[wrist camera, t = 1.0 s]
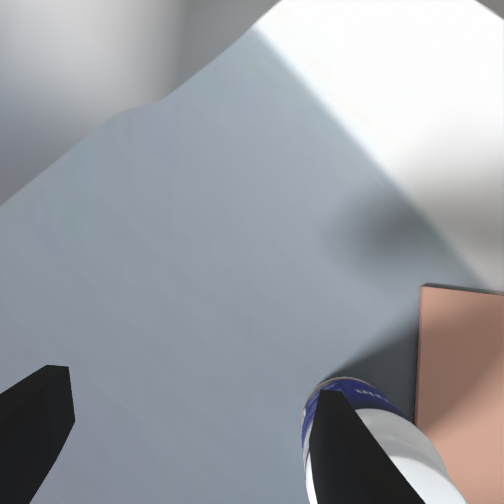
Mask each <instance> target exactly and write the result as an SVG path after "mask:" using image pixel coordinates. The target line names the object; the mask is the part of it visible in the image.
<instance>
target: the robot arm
mask: <svg viewBox="0 0 504 504" xmlns="http://www.w3.org/2000/svg"><path fill="white" fill-rule="evenodd" d="M74 423H75V415H74V407H73V399H72V391H71V383H70V375H69V367H66V366H55V365H46V366H44V367H42V368H41V369H39V370H37V371H36V372H34V373H32V374H31V375H29V376H28V377H26V378H25V379H23V380H21V381H20V382H18V383H17V384H15V385H14V386H12V387H11V388H9V389H7V390H6V391H4V392H3V393H1V394H0V504H29V503H30V501H31V500H32V498H33V497H34V495H35V494H36V492H37V490H38V489H39V487H40V485H41V484H42V482H43V481H44V479H45V477H46V476H47V474H48V473H49V471H50V469H51V468H52V466H53V464H54V463H55V461H56V459H57V457H58V455H59V453H60V452H61V450H62V448H63V446H64V444H65V442H66V440H67V437H68V435H69V433H70V431H71V429H72V427H73V425H74ZM309 450H310V461H311V470H312V479H313V485H314V490H315V495H316V500H317V504H426V503H425V502H424V500H423V499H422V498H421V497H420V496H419V494H418V493H417V492H416V491H415V490H414V488H413V487H412V486H411V485H410V483H409V482H408V481H407V480H406V478H405V477H404V476H403V474H402V473H401V472H400V471H399V469H398V468H397V467H396V465H395V464H394V463H393V461H392V460H391V459H390V458H389V456H388V455H387V454H386V452H385V451H384V450H383V448H382V447H381V446H380V444H379V443H378V442H377V440H376V439H375V438H374V436H373V435H372V433H371V432H370V431H369V429H368V428H367V426H366V425H365V424H364V422H363V421H362V419H361V418H360V417H359V415H358V414H357V412H356V411H355V409H354V408H353V407H352V405H351V404H350V402H349V401H348V399H347V398H346V397H345V395H344V394H343V393H342V391H335V390H324V389H320V393H319V397H318V402H317V406H316V410H315V415H314V419H313V424H312V428H311V432H310V437H309Z"/></svg>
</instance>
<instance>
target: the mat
mask: <svg viewBox="0 0 504 504" xmlns="http://www.w3.org/2000/svg"><path fill="white" fill-rule="evenodd" d="M414 424H415V425H416V426H417V427H418V428H419V429H420V430H421V431H422V432H423V433H424V434H425V435H426V437H427V438H428V439H429V440H430V441H431V443H432V444H433V445H434V447H435V448H436V449H437V451H438V453H439V454H440V456H441V458H442V460H443V462H444V464H445V466H446V469H447V471H448V474H449V477H450V479H451V481H452V482H453V483H454V484H455V485H456V487H457V488H458V489H459V490H460V492H461V493H462V494H463V496H464V498H465V499H466V501H467V502H468V504H504V296H501V295H493V294H484V293H476V292H467V291H459V290H450V289H441V288H433V287H424V286H423V287H421V296H420V317H419V338H418V359H417V379H416V400H415V421H414Z"/></svg>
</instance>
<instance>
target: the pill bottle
mask: <svg viewBox="0 0 504 504" xmlns="http://www.w3.org/2000/svg"><path fill="white" fill-rule="evenodd" d="M320 389H324V390H335V391H342V393H343V394H344V395H345V397H346V398H347V399H348V401H349V402H350V404H351V405H352V407H353V408H354V409H355V411H356V412H357V414H358V415H359V417H360V418H361V419H362V421H363V422H364V424H365V425H366V426H367V428H368V429H369V431H370V432H371V433H372V435H373V436H374V438H375V439H376V440H377V442H378V443H379V444H380V446H381V447H382V448H383V450H384V451H385V452H386V454H387V455H388V456H389V458H390V459H391V460H392V461H393V463H394V464H395V465H396V467H397V468H398V469H399V471H400V472H401V473H402V474H403V476H404V477H405V478H406V480H407V481H408V482H409V483H410V485H411V486H412V487H413V488H414V490H415V491H416V492H417V493H418V494H419V496H420V497H421V498H422V499H423V500H424V502H425V503H426V504H468V502H467V501H466V499H465V498H464V496H463V494H462V493H461V492H460V490H459V489H458V488H457V487H456V485H455V484H454V483H453V482H452V481H451V479H450V477H449V474H448V471H447V469H446V466H445V464H444V462H443V460H442V458H441V456H440V454H439V453H438V451H437V449H436V448H435V447H434V445H433V444H432V443H431V441H430V440H429V439H428V438H427V437H426V435H425V434H424V433H423V432H422V431H421V430H420V429H419V428H418V427H417V426H416V425H415V424H413V423H412V422H411V421H410V420H409V419H408V418H407V417H406V416H405V415H404V414H403V413H402V412H400V411H399V410H398V409H397V408H396V407H395V406H394V405H393V404H392V403H391V402H390V401H389V400H388V399H387V398H386V397H385V396H384V395H383V394H381V393H380V392H379V391H378V390H377V389H376V388H375V387H373V386H372V385H370V384H368V383H367V382H365V381H362V380H360V379H357V378H353V377H337V378H332V379H329V380H327V381H325V382H323V383H321V384H320V385H318V386H317V387H316V388H315V389H314V390H313V391H312V392H311V393H310V395H309V396H308V398H307V400H306V402H305V404H304V407H303V410H302V414H301V437H302V448H303V458H304V469H305V480H306V487H307V493H308V497H309V501H310V504H317V500H316V495H315V490H314V485H313V479H312V470H311V461H310V450H309V437H310V432H311V428H312V424H313V419H314V415H315V410H316V406H317V402H318V397H319V393H320Z"/></svg>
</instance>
